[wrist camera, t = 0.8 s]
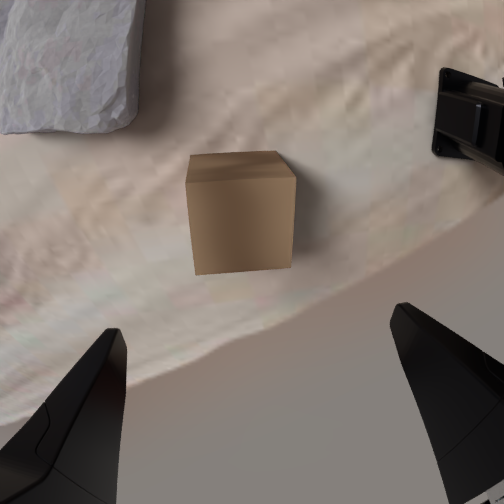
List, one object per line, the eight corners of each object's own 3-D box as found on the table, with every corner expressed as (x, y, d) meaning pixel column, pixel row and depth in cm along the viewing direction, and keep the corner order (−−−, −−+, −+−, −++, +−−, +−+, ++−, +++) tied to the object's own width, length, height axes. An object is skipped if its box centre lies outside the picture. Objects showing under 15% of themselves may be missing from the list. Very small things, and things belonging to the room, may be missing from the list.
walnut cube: (275, 150, 19) (296, 177, 14) (273, 224, 21) (291, 267, 17) (190, 154, 18) (185, 183, 14) (197, 229, 21) (195, 275, 17)
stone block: (27, 133, 17) (154, 125, 17) (-21, 151, 13) (116, 140, 13) (36, -23, 11) (170, -58, 11) (-9, -32, 7) (140, -91, 7)
